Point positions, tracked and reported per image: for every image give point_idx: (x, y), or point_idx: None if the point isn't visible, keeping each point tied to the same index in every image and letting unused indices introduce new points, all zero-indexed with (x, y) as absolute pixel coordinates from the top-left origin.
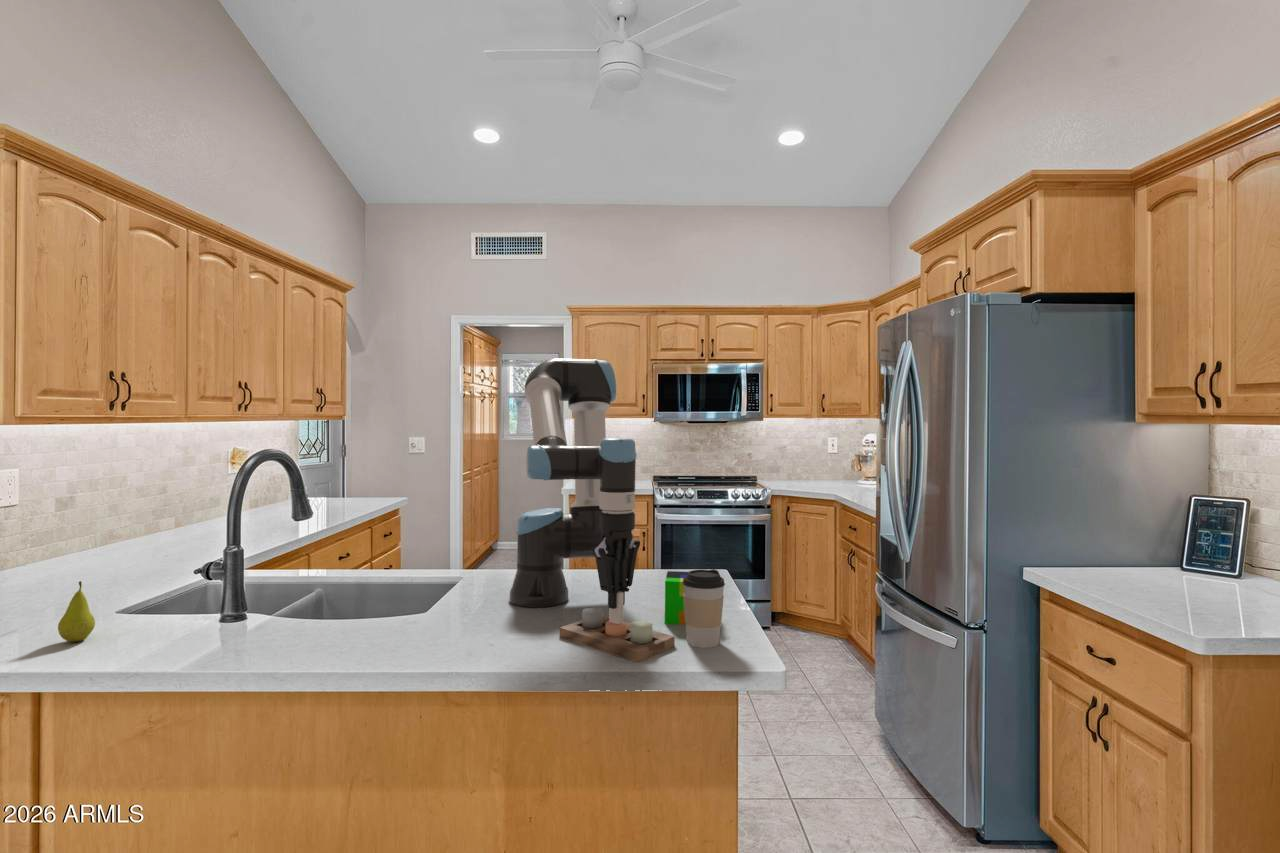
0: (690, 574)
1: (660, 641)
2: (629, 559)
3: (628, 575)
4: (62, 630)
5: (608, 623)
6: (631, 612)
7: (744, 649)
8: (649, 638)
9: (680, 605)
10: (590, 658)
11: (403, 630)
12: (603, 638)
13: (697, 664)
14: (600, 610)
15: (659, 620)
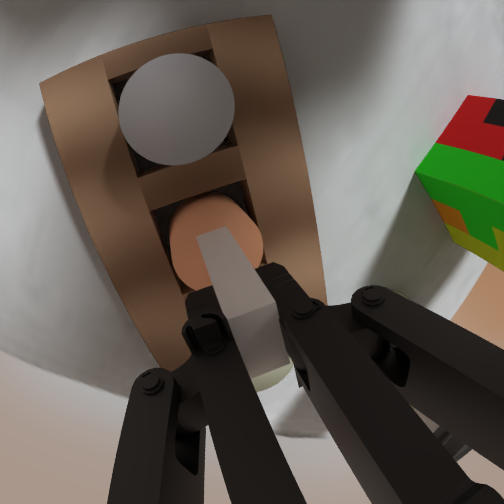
0: (462, 447)
1: None
2: (491, 443)
3: (398, 386)
4: None
5: (188, 240)
6: (407, 24)
7: None
8: None
9: (471, 217)
10: (74, 316)
11: None
12: (135, 281)
13: (281, 410)
14: (216, 128)
15: (423, 136)
